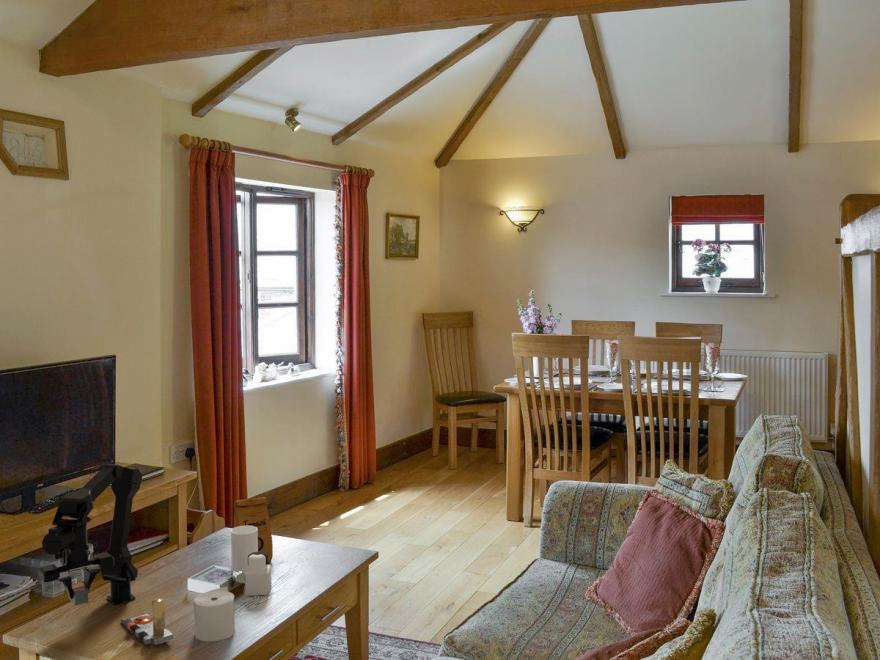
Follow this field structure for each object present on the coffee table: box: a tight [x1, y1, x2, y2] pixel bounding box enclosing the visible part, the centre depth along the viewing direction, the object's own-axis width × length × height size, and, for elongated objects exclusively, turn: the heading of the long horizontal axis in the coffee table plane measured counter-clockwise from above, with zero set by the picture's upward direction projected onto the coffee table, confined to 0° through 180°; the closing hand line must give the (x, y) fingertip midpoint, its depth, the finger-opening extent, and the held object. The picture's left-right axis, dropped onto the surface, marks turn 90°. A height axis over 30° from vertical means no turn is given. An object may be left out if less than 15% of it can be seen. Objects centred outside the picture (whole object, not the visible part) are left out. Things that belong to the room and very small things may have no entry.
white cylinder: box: [230, 526, 258, 580], centre depth 269 cm, size 8×8×16 cm
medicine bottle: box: [244, 551, 272, 597], centre depth 259 cm, size 7×7×12 cm
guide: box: [120, 613, 154, 646], centre depth 233 cm, size 18×7×1 cm, turn 41°
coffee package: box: [233, 496, 274, 563], centre depth 283 cm, size 10×12×22 cm
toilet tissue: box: [193, 586, 236, 643], centre depth 231 cm, size 11×12×10 cm
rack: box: [127, 597, 174, 646], centre depth 229 cm, size 17×7×10 cm, turn 41°
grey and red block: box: [67, 581, 89, 606], centre depth 233 cm, size 6×4×4 cm, turn 40°
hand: (78, 596), depth 233 cm, fingers closed on grey and red block, 3 cm apart
